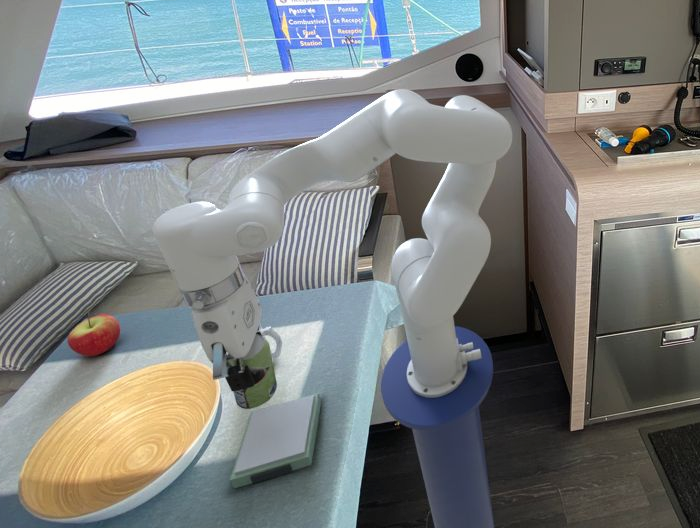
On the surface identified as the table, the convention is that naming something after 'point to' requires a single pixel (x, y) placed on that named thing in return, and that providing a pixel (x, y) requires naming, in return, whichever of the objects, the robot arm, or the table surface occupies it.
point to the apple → (94, 335)
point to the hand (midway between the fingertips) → (250, 368)
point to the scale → (277, 441)
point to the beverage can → (257, 375)
